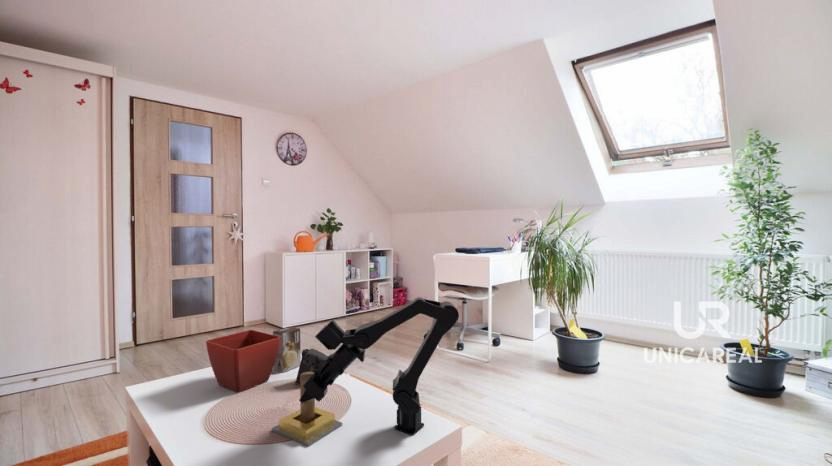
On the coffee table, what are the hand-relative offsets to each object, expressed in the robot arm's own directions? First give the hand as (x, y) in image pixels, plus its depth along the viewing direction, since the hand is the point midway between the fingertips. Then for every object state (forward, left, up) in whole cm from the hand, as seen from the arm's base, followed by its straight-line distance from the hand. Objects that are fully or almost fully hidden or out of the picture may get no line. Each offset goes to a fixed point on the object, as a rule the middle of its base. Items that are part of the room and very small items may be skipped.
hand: (303, 397), depth 112 cm
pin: (-1, -1, -7) cm, 7 cm away
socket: (-1, -1, -9) cm, 9 cm away
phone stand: (+24, -25, -9) cm, 36 cm away
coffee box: (+43, -30, -9) cm, 53 cm away
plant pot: (+44, -11, -9) cm, 46 cm away
